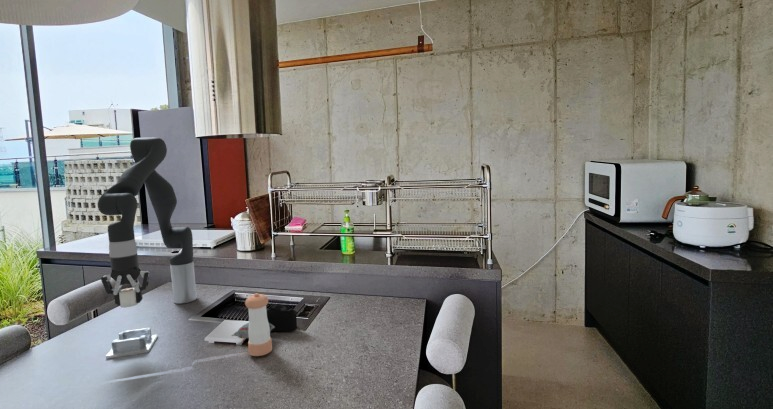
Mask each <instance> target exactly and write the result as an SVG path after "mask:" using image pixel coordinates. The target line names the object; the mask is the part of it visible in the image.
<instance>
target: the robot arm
mask: <svg viewBox="0 0 773 409" xmlns="http://www.w3.org/2000/svg"><path fill="white" fill-rule="evenodd" d="M129 148H130V153H131V156H132V159H133V160H134V164H133V165H131V166H129V167H128V168H126V170H124V171H123V173H121V175H120V177H119V178H118V180H117V182H116V183H115V184H113V185H112V186H111V187H109V188H108V189H107V190H105V191H104V192H103V193H102V194H101V195H100V197H99V198H98V200H97V209H98V211H99V212H100V214H102V215H105V216H121V218H120V220H119V221H116V222H112V223H109V224H108V225H107V235H108V255H109V260H110V262H109V263H110V269H111V272H110V274H104V275H103V276H101V278H100V281H101V283H102V286H103V288H104V290H105V293H106V294H108V295H110V294H111V295H113V297H114V303H115V305H117V307H118V306H120V298H119V291H120V290H122V289H121V288H122V286H123V285H131V286H132V288H134V289H135V290H136V301H137V303H138V304H140V303H141V301H142V300H143V291H144V290H146V289H147V288H148V287H149V281H150V275H151V270H146V271H145V270H141V269H140V266H139V257H138V256H139V255H138V248H137V242H136V238H135V230H134V229H135V219H136V214H137V209H138V200H137V198H136V196H138V194H139V193H140V191H141V189H142V187H143V185H144V186H145V188H146V191H147V193H148V198H149V201H150V203H151V205H152V208H153V211H154V214H155V216H156V218H157V219H156V220H157V221H158V223H157V224H158V226H159V231H160V235H161V238H162V242H163V245H164V246H165V247H166V248H167V249H181V252H180V253H177V254H176V255H173V256H171V257H170V258H169V267H170V276H171V277H170V278H171V286H172V287H171V289H172V296H173V298H172V299H173V303H174V304H179V305H180V304H187V303H191V302H194V301H195V300H197V299H198V298H197V296H198V295H197V286H196V277H195V276H196V274H195V263H194V245H193V244H194V241H193V240H194V238H193V232H192V229H191V228H190V227H189V226H178V227H177V226H172V223H171V218H172V215H173V214H174V212H175V210H176V207H177V204H178V200H177V196H176V193H175V189H174V187H173V186H172V184H171V183H170V182H169V181H168V180H167V179H166V178H165V177H163V176H162V175H161V174H159V172H157V171H156V169H157V168H158V167H159V165H161V163H162V162H163V161H164V160H165V158H166V156H167V153H168V152H167V151H168V147H167V144H166V142H165V140H164V139H162V138H160V137H157V136H156V137H152V136H151V137H135V138H133V139H131V141H130V143H129ZM140 275H141V278H143V279H142V285H141V284H140V281H139V279H138V278H139V276H140ZM111 280H113V281H115V285H114V288H113V285H112V283H111Z"/></svg>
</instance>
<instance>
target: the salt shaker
mask: <svg viewBox="0 0 773 409" xmlns="http://www.w3.org/2000/svg"><path fill="white" fill-rule="evenodd" d="M268 304H269V298H268V297H267V295H265V294H261V293H258V292H256V293H255V292H254V294H252V295H250V296H248V297H247V298H246V299H245V302H244V305H245V307H246V308H247V310H248V323H249V329H248V335H249V338H248V342H247V346H248V354H249V355H250V356H253V357H260V356H265V355H267V354H269V353H270V352H272V350H273V344H272V337H271V331H270V327H269V323H268V319H267V311H266V310H267V305H268Z"/></svg>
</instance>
